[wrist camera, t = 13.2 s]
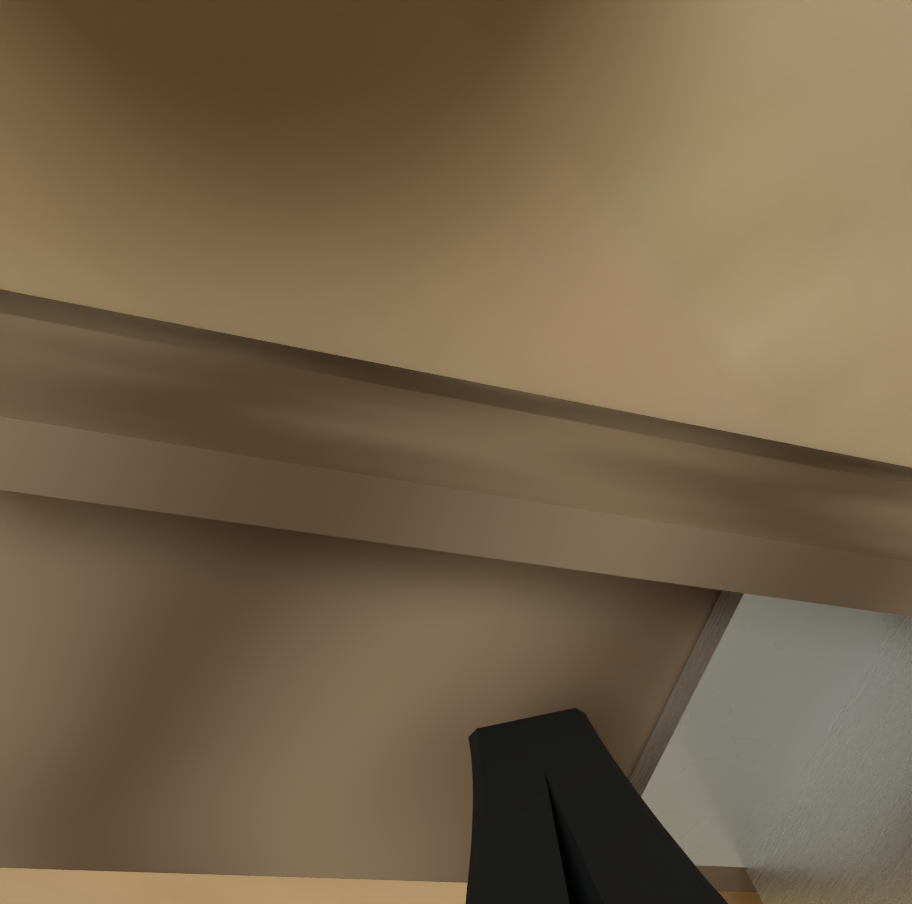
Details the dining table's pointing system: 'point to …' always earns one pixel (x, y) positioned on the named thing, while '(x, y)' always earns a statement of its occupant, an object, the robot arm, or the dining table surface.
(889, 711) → the bookend
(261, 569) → the shelf
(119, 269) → the dining table surface
